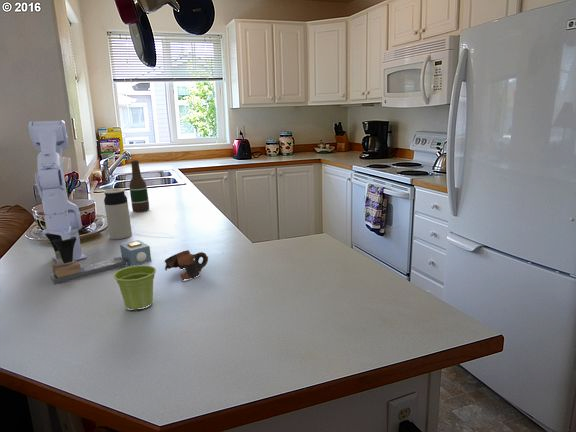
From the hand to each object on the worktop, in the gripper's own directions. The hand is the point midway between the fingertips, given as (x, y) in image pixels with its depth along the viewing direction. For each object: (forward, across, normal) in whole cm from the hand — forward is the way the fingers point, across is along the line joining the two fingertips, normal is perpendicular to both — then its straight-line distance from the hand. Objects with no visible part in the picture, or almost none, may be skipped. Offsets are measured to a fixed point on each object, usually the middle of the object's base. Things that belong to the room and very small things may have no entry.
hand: (64, 259), depth 120 cm
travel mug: (+6, -31, +26) cm, 41 cm away
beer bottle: (+6, -69, +49) cm, 85 cm away
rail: (+6, 0, +6) cm, 8 cm away
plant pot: (+6, +33, +8) cm, 34 cm away
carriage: (+4, 0, 0) cm, 4 cm away
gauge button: (+4, 0, +20) cm, 20 cm away
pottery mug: (+6, +23, +26) cm, 35 cm away
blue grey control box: (+6, 0, +20) cm, 21 cm away
